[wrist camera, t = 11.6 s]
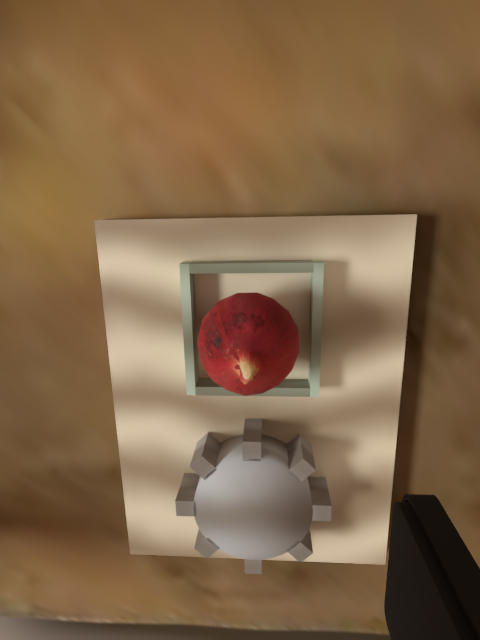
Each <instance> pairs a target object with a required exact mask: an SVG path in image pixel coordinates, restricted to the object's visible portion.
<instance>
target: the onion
mask: <svg viewBox="0 0 480 640" xmlns="http://www.w3.org/2000/svg"><path fill="white" fill-rule="evenodd" d="M197 346H198V350H199V355H200V359H201V363H202V366H203V367H204V369H205V370H206V372H207V373H208V375H209V376H210V378H211V379H212V380H213V381H214V382H215V383H217V384H218V385H220V386H221V387H223V388H224V389H226V390H227V391H230V392H234V393H237V394H240V395H243V396H248V395H256V394H262V393H264V392H266V391H268V390H270V389H272V388H274V387H276V386H278V385H280V384H281V383H282V381H283V380H284V379H285V378H286V377H287V376H288V375H289V373H290V372H291V371H292V369H293V367H294V364H295V362H296V359H297V356H298V354H299V332H298V327H297V325H296V323H295V322H294V320H293V318H292V316H291V314H290V312H289V311H288V310H287V309H285V308H284V307H283V306H281V305H280V304H279V303H278V302H277V301H276V300H274V299H273V298H270V297H268V296H265V295H262V294H260V293H257V292H255V293H236V294H234V295H232V296H229V297H227V298H225V299H222V300H220V301H218V302H216V303H215V305H214V306H213V307H212V308H211V309H210V311H209V312H208V313H207V314H206V315H205V317H204V318H203V319H202V323H201V328H200V332H199V337H198V341H197Z"/></svg>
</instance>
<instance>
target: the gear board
mask: <svg viewBox="0 0 480 640" xmlns="http://www.w3.org/2000/svg"><path fill="white" fill-rule="evenodd" d="M94 222H95V231H96V240H97V250H98V259H99V268H100V278H101V287H102V296H103V306H104V315H105V324H106V334H107V343H108V352H109V361H110V371H111V380H112V389H113V399H114V408H115V417H116V427H117V436H118V445H119V455H120V464H121V473H122V483H123V492H124V501H125V511H126V520H127V529H128V539H129V548H130V554H142V555H166V556H190V557H205V558H206V559H207V558H208V557H214V558H238V559H244V561H245V573H251V574H262V560H286V561H299V562H300V563H301V562H302V561H310V562H334V563H359V564H383V565H385V562H386V551H387V540H388V529H389V518H390V507H391V496H392V485H393V474H394V463H395V452H396V442H397V431H398V420H399V409H400V398H401V387H402V376H403V365H404V354H405V343H406V332H407V321H408V310H409V299H410V288H411V277H412V266H413V255H414V244H415V233H416V222H417V214H396V215H339V216H283V217H227V218H171V219H115V220H94ZM255 292H257V293H260V294H262V295H265V296H268V297H270V298H273V299H274V300H276V301H277V302H278V303H279V304H280V305H281V306H283V307H284V308H285V309H287V310H288V311H289V312H290V314H291V316H292V318H293V320H294V322H295V323H296V325H297V327H298V332H299V354H298V356H297V359H296V362H295V364H294V367H293V369H292V371H291V372H290V373H289V375H288V376H287V377H286V378H285V379H284V380H283V381H282V383H281V384H280V385H278V386H276V387H274V388H272V389H270V390H268V391H266V392H264V393H262V394H256V395H248V396H243V395H240V394H237V393H234V392H230V391H227V390H226V389H224V388H223V387H221V386H220V385H218V384H217V383H215V382H214V381H213V380H212V379H211V378H210V376H209V375H208V373H207V372H206V370H205V369H204V367H203V366H202V363H201V359H200V355H199V350H198V346H197V341H198V337H199V332H200V328H201V323H202V319H203V318H204V317H205V315H206V314H207V313H208V312H209V311H210V309H211V308H212V307H213V306H214V305H215V303H216V302H218V301H220V300H222V299H225V298H227V297H229V296H232V295H234V294H236V293H255Z"/></svg>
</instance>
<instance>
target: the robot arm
mask: <svg viewBox="0 0 480 640" xmlns="http://www.w3.org/2000/svg"><path fill="white" fill-rule="evenodd" d="M384 607H385V617H386V622H387V626H388V630H389V633H390V637H391V640H480V569H479V567H478V565H477V564H476V562H475V560H474V559H473V557H472V555H471V554H470V552H469V550H468V549H467V547H466V545H465V544H464V542H463V540H462V539H461V537H460V535H459V533H458V532H457V530H456V528H455V527H454V525H453V523H452V522H451V520H450V518H449V517H448V515H447V513H446V512H445V510H444V508H443V507H442V505H441V503H440V502H439V500H438V499H437V497H436V496H434V495H414V494H406V495H404V497H403V500H402V502H395V504H394V508H393V518H392V529H391V539H390V550H389V560H388V571H387V582H386V592H385V605H384Z"/></svg>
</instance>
